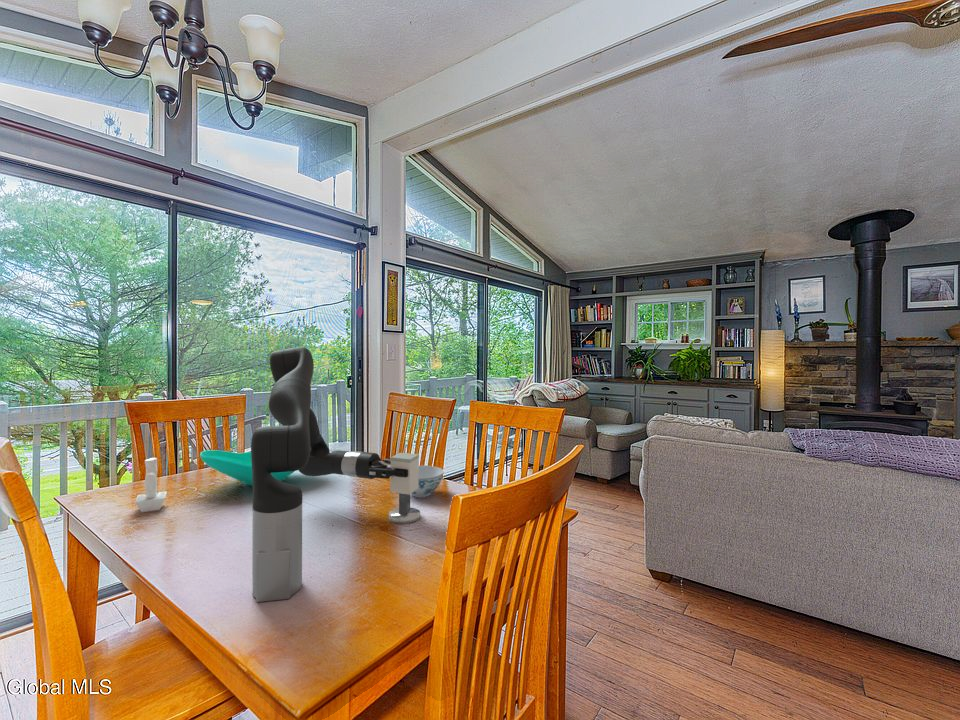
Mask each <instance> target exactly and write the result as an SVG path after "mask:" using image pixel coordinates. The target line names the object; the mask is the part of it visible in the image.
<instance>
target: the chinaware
mask: <svg viewBox="0 0 960 720" xmlns="http://www.w3.org/2000/svg"><path fill="white" fill-rule="evenodd" d="M444 473H445V472H444V470H443V468H441V467H438V466H432V465H419V479H418V489H416V490H415V491H414V492H412V493H411V494H410V496H412V497H414V496H415V497H414V498H427V497H429V495H430V496H431V495H432V492H433V491H435V490H436V489H437V488H438V487H440V486H439V485H440V484H441V482H442V480H443V477H444ZM426 496H427V497H426Z"/></svg>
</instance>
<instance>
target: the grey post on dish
mask: <svg viewBox="0 0 960 720" xmlns="http://www.w3.org/2000/svg"><path fill="white" fill-rule="evenodd" d="M420 519H421V511H420V510H419V509H418V508H417V507H411V494H410V495H409V494H401V493H398V507H397V508H394V509H391V510H390V511H389V512H388V520H389V522H390V523H393V524H396V523H397V525H408V524H407V523H409V524H413V522H414V523H416V522H418V521H419V520H420Z"/></svg>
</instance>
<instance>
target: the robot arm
mask: <svg viewBox="0 0 960 720" xmlns="http://www.w3.org/2000/svg"><path fill="white" fill-rule="evenodd" d="M269 355H270V356H269V367H270V372H271V375H272V378H273V381H274V383H275V384H274V385H273V387H272V388H271V390H270V396H269V400H268V409H269V412H270V415H272V417H273V418H274V419H275V420H276V421H277V422H278V423H279V424H281V425H273V426H272V425H271V426H270V425H269V426H268V425H267V426H259V427H257V428H256V429H254V431H253V434H252V435H251V440H250V452H251V462H252V478H253V486H252V532H251V533H252V543H251V544H252V548H251V550H252V552H251V553H252V557H251V558H252V559H251V562H252V564H251V565H252V567H251V568H252V596H253V597H254V598H255V603H260V602H261V603H262V602H271V601H272V602H273V601H279V600H281V601H282V600H288V599H291V598H292V595H294V594H295V593H297V592H298V591H299V590H300V589H301V588H302V586H303V490H302V489H301V487H300V486H297V485H295V484H291V483H288V482H285V481H283V480H282V481H279V480H277V479H276V478H274V477H273V476H272V475H271V473H275V472H288V471H294V472H296V471H298V472H299V473H300V474H303V475H304V476H307V477H320V476H328V475H332V474H333V475H342V476H348V477H351V478H357V479H358V478H359V479H367V480H368V479H369V480H373V479H385V480H386V479H387V480H389V479H390V477H395V476H397V477H408V469H401V468H396V469H395V468H394V467H391V457H390V459H389V458H383V459H381V457H380V455H379V454H378V453H377V452H369V451H355V450H354V451H350V450H349V451H348V450H341V449H340V450H338V449H337V450H333V451H331V450H330V448H329V447H328V444H327V443H326V441H325V439H324V438H323V436H322V434H321V433H320V427H319V424H318V423H319V422H318V420H317V416H316V414H315V412H314V411H313V410H312V408H311V404H312V403H311V402H312V401H311V400H312V390H311V388H312V387H311V386H312V385H311V384H312V380H313V375H314V367H315V366H314V357H313V354H312V353H311V351H310V350H309V349H308V348H306V347H304V346H303V347H302V346H298V347H291V348H285V349H280V350H274V351H272V352H271V353H270V354H269Z"/></svg>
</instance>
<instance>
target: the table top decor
mask: <svg viewBox="0 0 960 720" xmlns="http://www.w3.org/2000/svg"><path fill="white" fill-rule="evenodd" d="M199 457H200V459H201V460H202V462H203V463H204V464H206V465H207V466H208V467H210V468H211V469H213V470H216V471H218V472H219V473H222V474H224V475H226V476H227V477H231V478H232V479H235V480H237V481H239V482H241V483H244V484H247V485H248V486H251V487H253V478H252V462H251V451H247V452H246V451H245V452H233V451H227V450H217V449H210V450H209V449H207V450H204V451H200V454H199ZM293 473H295V471H288V472H275V473H271V475H272V476H273V477H274V478H276V479H277V480H279V481H282V482H283V481H284V480H285V479H287V478H288V477H289V476H290V475H292V474H293Z"/></svg>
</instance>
